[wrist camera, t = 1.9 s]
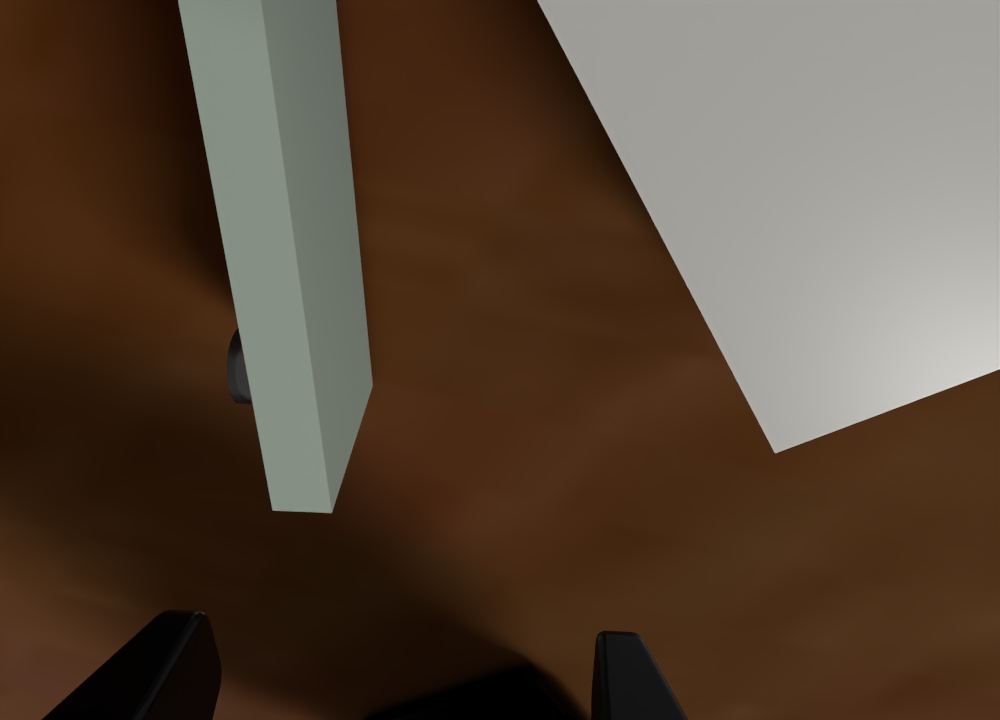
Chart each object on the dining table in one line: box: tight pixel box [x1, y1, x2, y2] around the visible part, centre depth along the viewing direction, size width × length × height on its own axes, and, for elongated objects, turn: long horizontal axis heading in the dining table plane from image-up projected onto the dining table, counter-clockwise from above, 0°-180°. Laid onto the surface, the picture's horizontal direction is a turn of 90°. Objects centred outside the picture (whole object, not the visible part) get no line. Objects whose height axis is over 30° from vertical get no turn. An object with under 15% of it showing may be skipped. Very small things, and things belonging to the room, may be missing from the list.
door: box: [178, 0, 373, 513], centre depth 16 cm, size 2×16×4 cm, turn 0°
